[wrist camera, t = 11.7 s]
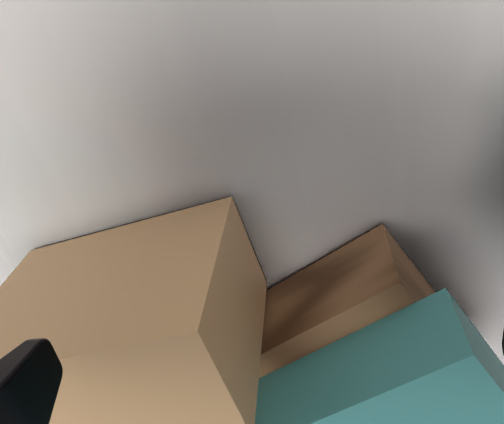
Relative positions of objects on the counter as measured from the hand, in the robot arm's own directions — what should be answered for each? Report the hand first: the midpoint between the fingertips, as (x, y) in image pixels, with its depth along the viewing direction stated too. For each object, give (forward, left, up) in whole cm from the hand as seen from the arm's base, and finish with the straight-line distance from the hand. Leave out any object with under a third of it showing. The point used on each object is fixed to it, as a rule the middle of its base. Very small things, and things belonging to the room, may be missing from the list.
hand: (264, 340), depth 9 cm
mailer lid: (-2, +12, -8) cm, 15 cm away
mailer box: (+8, +7, -13) cm, 17 cm away
